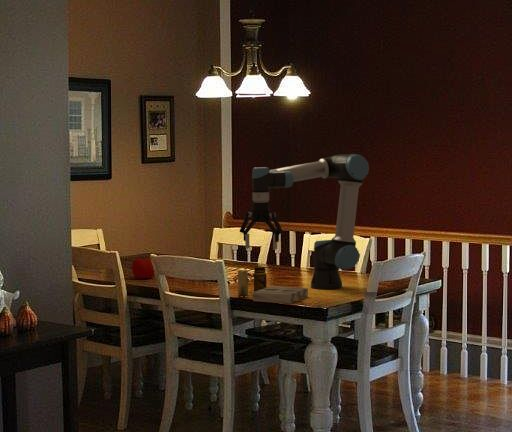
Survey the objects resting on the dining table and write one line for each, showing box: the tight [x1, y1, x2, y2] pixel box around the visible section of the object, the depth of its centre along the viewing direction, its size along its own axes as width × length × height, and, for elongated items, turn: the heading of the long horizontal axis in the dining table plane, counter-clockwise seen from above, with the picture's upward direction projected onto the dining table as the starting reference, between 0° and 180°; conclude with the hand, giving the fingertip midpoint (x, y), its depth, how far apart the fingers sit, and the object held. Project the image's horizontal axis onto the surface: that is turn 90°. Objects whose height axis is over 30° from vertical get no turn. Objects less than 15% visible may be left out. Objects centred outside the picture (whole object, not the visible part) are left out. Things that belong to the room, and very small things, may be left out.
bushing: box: [237, 269, 249, 298], centre depth 456 cm, size 4×4×12 cm
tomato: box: [131, 256, 155, 280], centre depth 519 cm, size 12×13×12 cm
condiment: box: [250, 266, 268, 292], centre depth 468 cm, size 7×8×12 cm
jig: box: [252, 285, 309, 305], centre depth 448 cm, size 20×18×4 cm
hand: (261, 248), depth 447 cm, fingers open, 13 cm apart
